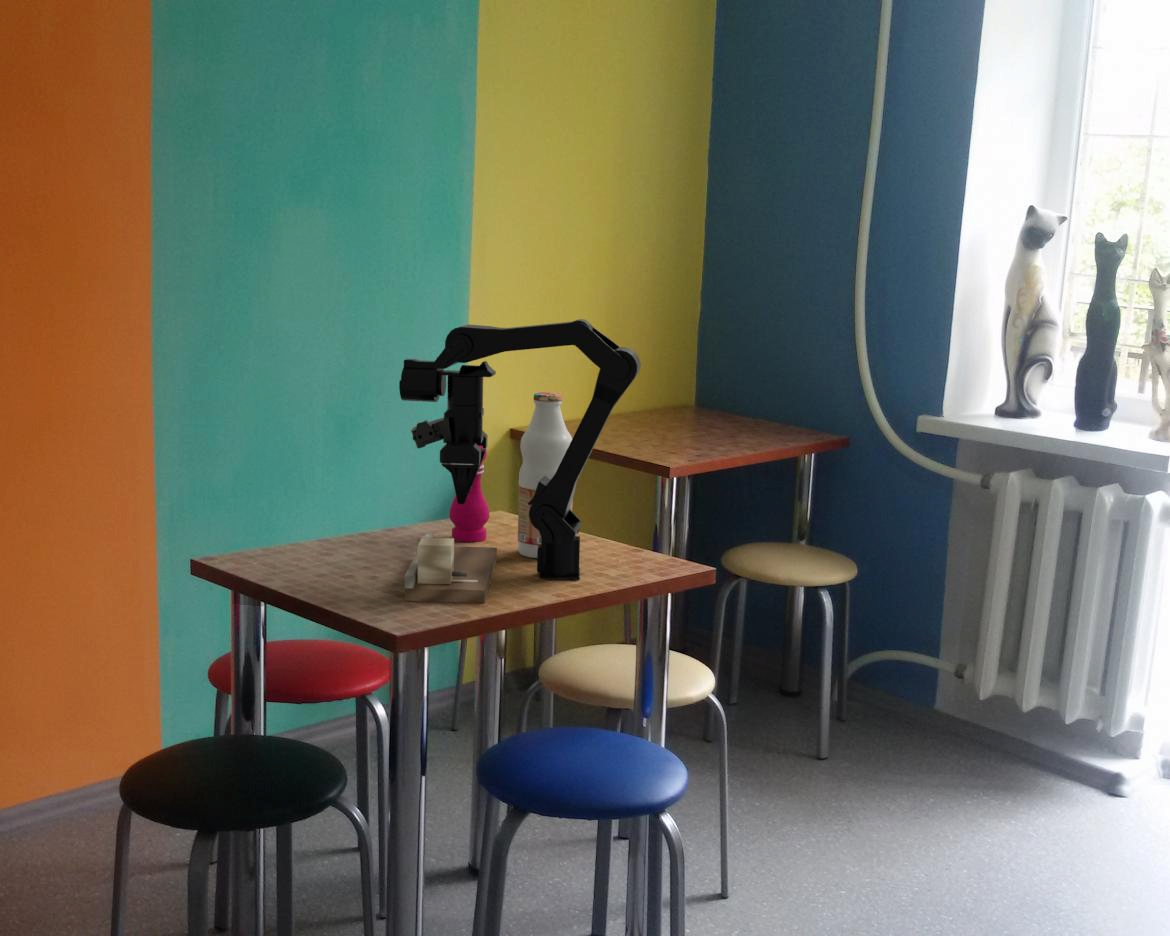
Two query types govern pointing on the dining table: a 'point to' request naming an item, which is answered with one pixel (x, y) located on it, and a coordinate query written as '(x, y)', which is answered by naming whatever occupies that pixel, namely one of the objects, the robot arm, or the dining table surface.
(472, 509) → the pepper mill
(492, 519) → the dining table surface
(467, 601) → the walnut board
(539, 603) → the dining table surface
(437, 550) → the beige block
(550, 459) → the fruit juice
